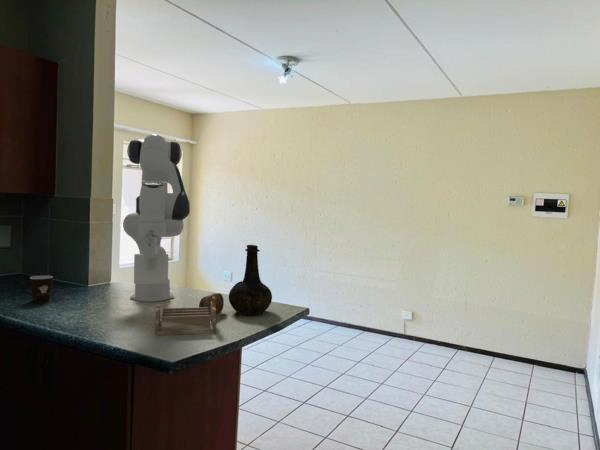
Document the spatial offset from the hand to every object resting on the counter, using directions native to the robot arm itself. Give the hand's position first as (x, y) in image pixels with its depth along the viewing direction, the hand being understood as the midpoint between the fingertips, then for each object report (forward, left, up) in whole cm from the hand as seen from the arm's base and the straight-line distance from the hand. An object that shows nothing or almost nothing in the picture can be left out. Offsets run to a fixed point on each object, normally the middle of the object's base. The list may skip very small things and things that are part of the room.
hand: (151, 269), depth 154 cm
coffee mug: (-51, -49, -21) cm, 74 cm away
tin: (-17, +22, -21) cm, 35 cm away
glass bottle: (-20, +38, -21) cm, 48 cm away
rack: (0, +12, -21) cm, 24 cm away
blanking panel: (0, 0, -5) cm, 5 cm away
